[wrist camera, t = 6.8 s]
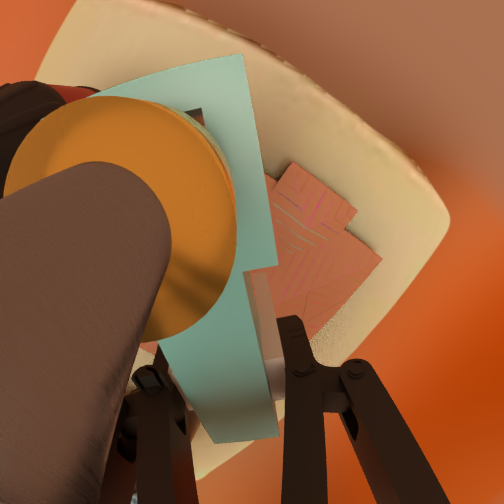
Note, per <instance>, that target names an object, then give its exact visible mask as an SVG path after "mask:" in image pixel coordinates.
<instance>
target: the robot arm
mask: <svg viewBox="0 0 504 504" xmlns="http://www.w3.org/2000/svg"><path fill="white" fill-rule="evenodd" d="M252 275H253V282H254V290H255V298H256V306H257V310H258V317H259V325H260V333H261V340H262V348H263V356H264V362H265V367H266V371H267V376H268V380H269V385H270V389H271V394H272V398H273V401H276V400H281V399H285V421H284V422H285V423H284V452H283V453H284V454H283V476H282V495H281V504H328V495H327V467H326V447H325V431H324V416H323V412H330V413H338V414H339V416H340V418H341V420H342V423H343V425H344V427H345V430H346V432H347V434H348V437H349V439H350V441H351V443H352V446H353V448H354V451H355V453H356V455H357V458H358V460H359V462H360V465H361V467H362V469H363V472H364V474H365V476H366V479H367V481H368V483H369V486H370V488H371V490H372V493H373V495H374V498H375V500H376V502H377V504H450V502H449V500H448V498H447V496H446V494H445V492H444V491H443V489H442V487H441V485H440V483H439V481H438V479H437V478H436V476H435V474H434V472H433V470H432V468H431V466H430V465H429V463H428V461H427V460H426V457H425V456H424V454H423V452H422V450H421V448H420V447H419V445H418V443H417V441H416V440H415V438H414V436H413V434H412V433H411V431H410V429H409V427H408V426H407V424H406V422H405V420H404V419H403V417H402V416H401V414H400V412H399V410H398V409H397V407H396V405H395V404H394V402H393V400H392V398H391V397H390V395H389V393H388V392H387V390H386V389H385V387H384V385H383V384H382V382H381V381H380V379H379V377H378V375H377V374H376V372H375V370H374V369H373V367H372V366H371V364H370V363H368V362H367V361H365V360H363V359H350V360H348V361H346V362H344V363H343V364H342V366H341V367H328V366H324V365H321V364H320V363H318V362H317V361H316V360H315V358H314V356H313V353H312V349H311V346H310V343H309V340H308V337H307V334H306V330H305V327H304V324H303V321H302V320H301V319H300V318H299V317H298V316H297V315H290V316H285V317H280V318H276V317H275V312H274V307H273V302H272V297H271V293H270V288H269V283H268V278H267V274H266V271H264V272H258V273H253V274H252ZM131 379H132V381H133V382H134V384H135V385H136V387H137V388H138V389H136V390H134V391H132V392H131V393H130V394H129V395H127V396H124V397H123V401H122V404H121V408H120V411H119V415H118V419H117V422H116V426H115V430H114V434H113V438H112V442H111V446H110V450H109V454H108V459H107V463H106V467H105V472H104V477H103V481H102V486H101V491H100V496H99V502H98V504H199V502H198V495H197V489H196V482H195V474H194V467H193V459H192V451H191V442H192V439H193V437H194V435H195V433H196V431H197V429H198V427H199V425H200V420H199V418H198V416H197V415H196V413H195V411H194V409H193V408H192V406H191V404H190V402H189V401H188V399H187V397H186V395H185V394H184V392H183V390H182V388H181V386H180V384H179V383H178V381H177V379H176V377H175V375H174V373H173V371H172V369H171V367H170V366H169V364H168V362H167V360H166V358H165V356H164V354H163V352H162V350H161V348H160V345H159V343H158V346H157V350H156V354H155V358H154V362H153V365H145V366H142V367H140V368H139V369H137V370H136V371H135V372H134V373H133V375H132V378H131Z"/></svg>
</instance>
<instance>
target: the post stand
mask: <svg viewBox="0 0 504 504" xmlns="http://www.w3.org/2000/svg"><path fill="white" fill-rule="evenodd" d="M236 246H237V221H236V195H235V187H234V180H233V177H232V173H231V169H230V167H229V164H228V162H227V159H226V157H225V155H224V153H223V151H222V150H221V148H220V146H219V145H218V143H217V142H216V140H215V139H214V138H213V137H212V135H211V134H210V133H209V132H208V131H207V130H206V128H205V123H204V118H203V116H199V117H194V118H192V117H190V116H189V115H188V114H186V113H184V112H182V111H180V110H178V109H176V108H174V107H171V106H168V105H165V104H162V103H158V102H152V101H146V100H140V99H134V98H127V97H120V96H94V97H89V98H84V99H79V100H76V101H74V102H71V103H68V104H66V105H63V106H62V107H60V108H58V109H56V110H55V111H53V112H51V113H50V114H48V115H47V116H46V117H45V118H43V119H42V120H41V121H40V122H39V123H37V124H36V126H35V127H34V128H33V129H32V130H31V131H30V132H29V133H28V134H27V136H26V137H25V139H24V140H23V142H22V143H21V144H20V146H19V148H18V149H17V151H16V153H15V156H14V158H13V160H12V162H11V165H10V168H9V171H8V174H7V177H6V182H5V187H4V195H3V198H2V199H0V504H98V502H99V496H100V491H101V486H102V481H103V477H104V472H105V467H106V463H107V459H108V454H109V450H110V446H111V442H112V438H113V434H114V430H115V426H116V422H117V419H118V415H119V411H120V408H121V404H122V401H123V397H124V394H125V390H126V387H127V384H128V380H129V377H130V374H131V370H132V367H133V364H134V361H135V358H136V355H137V351H138V348H139V345H140V343H147V342H153V341H158V340H162V339H165V338H169V337H171V336H174V335H176V334H178V333H180V332H183V331H184V330H186V329H188V328H189V327H191V326H192V325H194V324H195V323H196V322H198V321H199V320H200V319H201V318H202V317H204V316H205V315H206V314H207V313H208V311H209V310H210V309H211V308H212V307H213V306H214V305H215V303H216V302H217V300H218V299H219V297H220V296H221V294H222V293H223V291H224V289H225V286H226V284H227V282H228V280H229V278H230V274H231V271H232V268H233V264H234V260H235V253H236Z"/></svg>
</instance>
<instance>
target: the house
mask: <svg viewBox="0 0 504 504" xmlns="http://www.w3.org/2000/svg"><path fill="white" fill-rule="evenodd" d="M264 176H265V182H266V188H267V194H268V200H269V206H270V213H271V219H272V225H273V232H274V238H275V245H276V251H277V258H278V265H276V266H271V267H265V268H260V269H254V270H249V271H250V276H251V281H252V286H253V291H254V296H255V290H254V282H253V275H252V274H253V273H258V272H264V271H266V274H267V278H268V283H269V288H270V293H271V297H272V302H273V307H274V312H275V317H276V318H280V317H285V316H290V315H297V316H298V317H299V318H300V319H301V320H302V321H303V324H304V327H305V330H306V334H307V337H308V340H310V339H311V338H312V337H313V336H314V335H315V334H316V333H317V332H318V331H319V330H320V329H321V328H322V327H323V326H324V325H325V324H326V323H327V322H328V321H329V319H330V318H331V317H332V316H333V315H334V314H335V313H336V312H337V311H338V310H339V309H340V308H341V306H342V305H343V304H344V303H345V302H346V301H347V300H348V299H349V298H350V296H351V295H352V294H353V293H354V292H355V291H356V290H357V289H358V287H359V286H360V285H361V284H362V283H363V282H364V280H365V279H366V278H367V277H368V276H369V275H370V273H371V272H372V271H373V270H374V269H375V267H376V266H377V265H378V264H379V263H380V261H381V260H382V259H383V258H381V257H380V256H379V255H377V254H376V253H375V252H374V251H372V250H371V249H370V248H368V247H367V246H366V245H365V244H363V243H362V242H361V241H359V240H358V239H357V238H355V237H354V236H353V235H352V234H350V233H349V232H348V231H346V230H345V229H344V228H345V227H346V226H347V225H348V223H349V222H350V221H351V219H352V218H353V217H354V215H355V214H356V213H357V212H358V210H356V209H355V208H354V207H353V206H351V205H350V204H349V203H348V202H346V201H345V200H344V199H343V198H341V197H340V196H339V195H337V194H336V193H335V192H334V191H332V190H331V189H330V188H328V187H327V186H326V185H324V184H323V183H322V182H320V181H319V180H318V179H316V178H315V177H314V176H312V175H311V174H309V173H308V172H307V171H305V170H304V169H303V168H301V167H300V166H298V165H297V164H296V163H294V162H293V161H292V163H291V164H290V166H289V167H288V168H287V170H286V171H285V173H284V174H283V175H282V177H281V178H280V180H279V181H278V182H277V181H276V180H274V179H273V178H271V177H270V176H268V175H267V174H265V173H264ZM255 301H256V298H255ZM157 346H158V341H153V342H147V343H140V345H139V347H140V348H142V349H144V350H146V351H148V352H150V353H152V354H154V355H155V354H156V350H157Z"/></svg>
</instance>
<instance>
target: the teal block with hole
mask: <svg viewBox="0 0 504 504" xmlns="http://www.w3.org/2000/svg"><path fill="white" fill-rule="evenodd" d="M94 96H120V97H127V98H134V99H140V100H146V101H152V102H158V103H162V104H165V105H168V106H171V107H174V108H176V109H178V110H180V111H182V112H184V113H186V114H188V115H189V116H190V117H192V118H194V117H199V116H203V118H204V123H205V128H206V130H207V131H208V132H209V133H210V134H211V135H212V137H213V138H214V139H215V140H216V142H217V143H218V145H219V146H220V148H221V150H222V151H223V153H224V155H225V157H226V159H227V162H228V164H229V167H230V169H231V173H232V177H233V180H234V187H235V195H236V221H237V246H236V253H235V260H234V264H233V268H232V271H231V274H230V278H229V280H228V282H227V284H226V286H225V289H224V291H223V293H222V294H221V296H220V297H219V299H218V300H217V302H216V303H215V305H214V306H213V307H212V308H211V309H210V310H209V311H208V313H207V314H206V315H205V316H204V317H202V318H201V319H200V320H199V321H198V322H196V323H195V324H194V325H192V326H191V327H189V328H188V329H186V330H184V331H183V332H180V333H178V334H176V335H174V336H171V337H169V338H165V339H162V340H158V343H159V345H160V348H161V350H162V352H163V354H164V356H165V358H166V360H167V362H168V364H169V366H170V367H171V369H172V371H173V373H174V375H175V377H176V379H177V381H178V383H179V384H180V386H181V388H182V390H183V392H184V394H185V395H186V397H187V399H188V401H189V402H190V404H191V406H192V408H193V409H194V411H195V413H196V415H197V416H198V418H199V420H200V421H201V423H202V425H203V426H204V428H205V429H206V431H207V433H208V434H209V436H210V437H211V439H212V441H213V442H214V444H219V443H232V442H242V441H250V440H258V439H266V438H273V437H279V436H280V434H279V427H278V420H277V414H276V407H275V401H273V398H272V394H271V389H270V385H269V380H268V376H267V371H266V367H265V362H264V356H263V348H262V340H261V333H260V325H259V317H258V310H257V306H256V301H255V296H254V291H253V286H252V281H251V276H250V271H249V270H254V269H260V268H265V267H271V266H276V265H278V258H277V251H276V245H275V238H274V232H273V225H272V219H271V213H270V206H269V200H268V194H267V188H266V182H265V176H264V170H263V164H262V158H261V153H260V147H259V141H258V135H257V130H256V124H255V119H254V113H253V108H252V102H251V97H250V91H249V86H248V81H247V76H246V70H245V65H244V60H243V55H242V53H241V54H235V55H229V56H223V57H218V58H213V59H208V60H203V61H199V62H194V63H190V64H186V65H182V66H178V67H174V68H170V69H167V70H163V71H160V72H156V73H153V74H149V75H146V76H143V77H140V78H137V79H134V80H131V81H128V82H125V83H122V84H120V85H117V86H114V87H111V88H109V89H106V90H104V91H101V92H99V93H96V94H94V95H91V96H89V97H94ZM89 97H86V98H89ZM44 118H45V117H44ZM42 119H43V118H42ZM42 119H40V120H42Z"/></svg>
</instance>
